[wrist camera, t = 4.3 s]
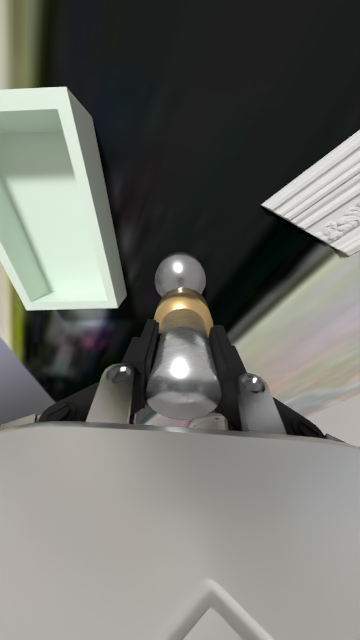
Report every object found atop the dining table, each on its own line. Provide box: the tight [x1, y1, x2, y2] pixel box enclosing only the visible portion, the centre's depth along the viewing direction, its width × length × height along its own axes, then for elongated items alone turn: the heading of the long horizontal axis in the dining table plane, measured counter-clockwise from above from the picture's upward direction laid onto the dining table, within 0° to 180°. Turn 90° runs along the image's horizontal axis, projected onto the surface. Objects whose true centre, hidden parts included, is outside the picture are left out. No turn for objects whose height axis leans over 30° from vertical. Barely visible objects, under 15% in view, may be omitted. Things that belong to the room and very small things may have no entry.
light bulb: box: [146, 288, 221, 420], centre depth 12 cm, size 5×5×9 cm
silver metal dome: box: [155, 252, 206, 297], centre depth 21 cm, size 6×6×2 cm
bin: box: [0, 87, 127, 310], centre depth 18 cm, size 17×11×4 cm, turn 2°
